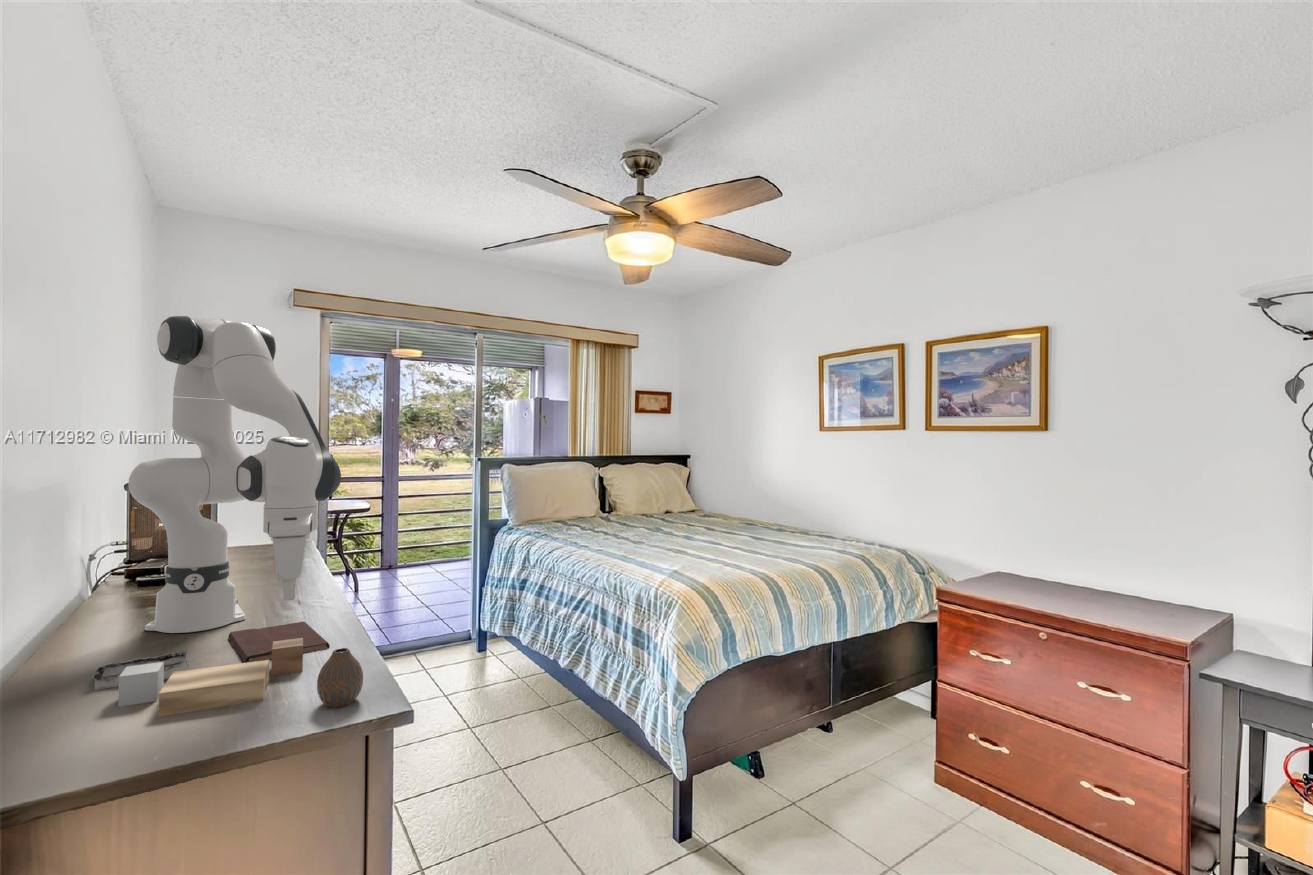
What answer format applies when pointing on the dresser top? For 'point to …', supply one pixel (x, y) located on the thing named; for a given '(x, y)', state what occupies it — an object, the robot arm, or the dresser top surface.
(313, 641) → the notebook
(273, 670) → the walnut cube
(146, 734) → the dresser top surface
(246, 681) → the oak block
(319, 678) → the vase
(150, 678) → the grey block
